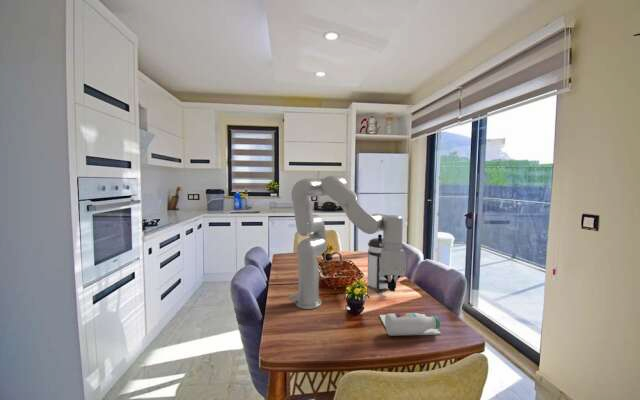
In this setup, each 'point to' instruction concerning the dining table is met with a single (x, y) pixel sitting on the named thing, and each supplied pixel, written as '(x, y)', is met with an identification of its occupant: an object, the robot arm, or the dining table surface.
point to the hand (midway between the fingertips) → (391, 290)
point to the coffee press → (375, 265)
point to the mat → (428, 332)
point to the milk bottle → (409, 323)
